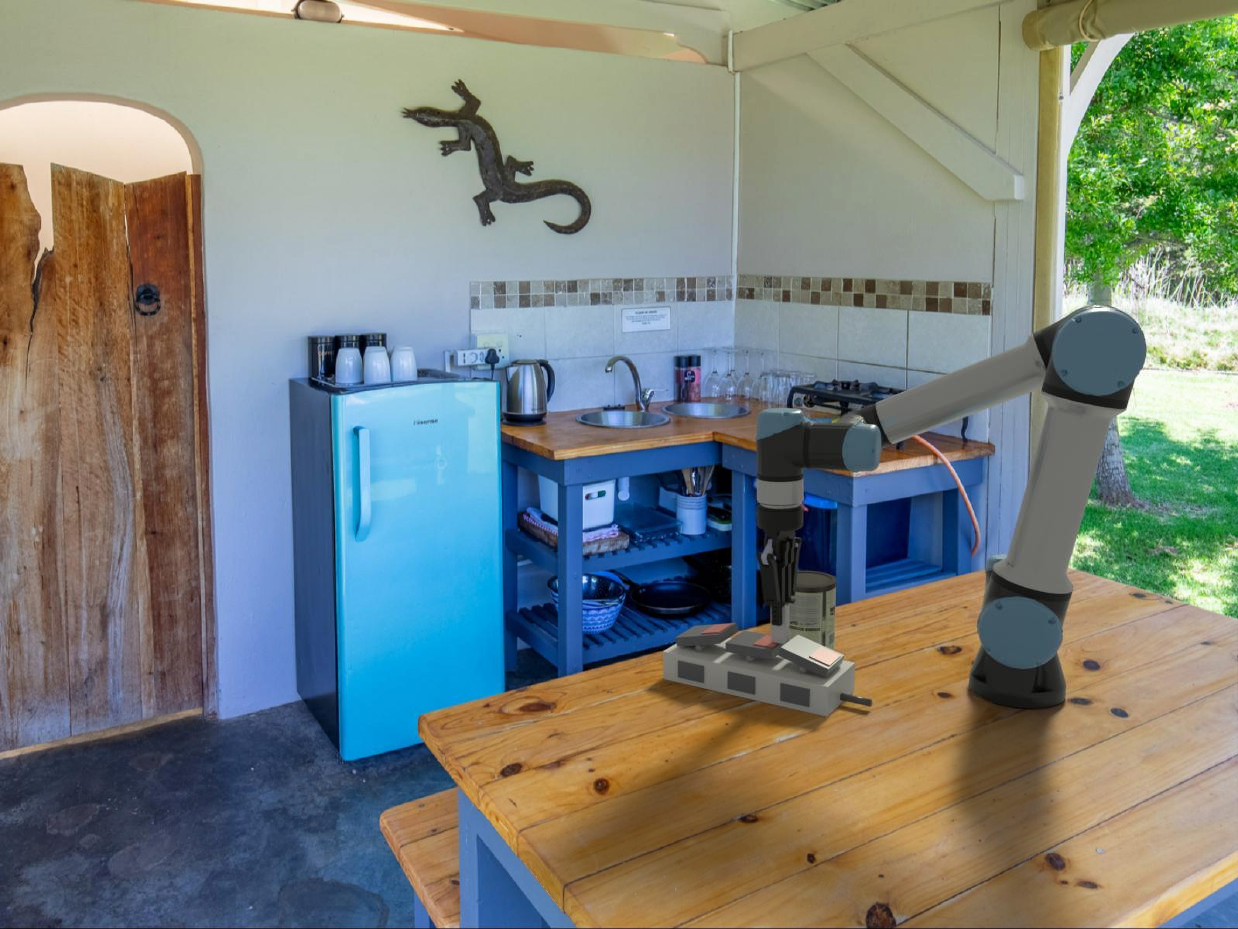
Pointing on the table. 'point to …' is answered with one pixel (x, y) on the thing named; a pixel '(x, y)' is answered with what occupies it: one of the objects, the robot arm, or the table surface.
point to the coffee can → (814, 608)
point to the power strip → (761, 678)
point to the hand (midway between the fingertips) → (779, 641)
